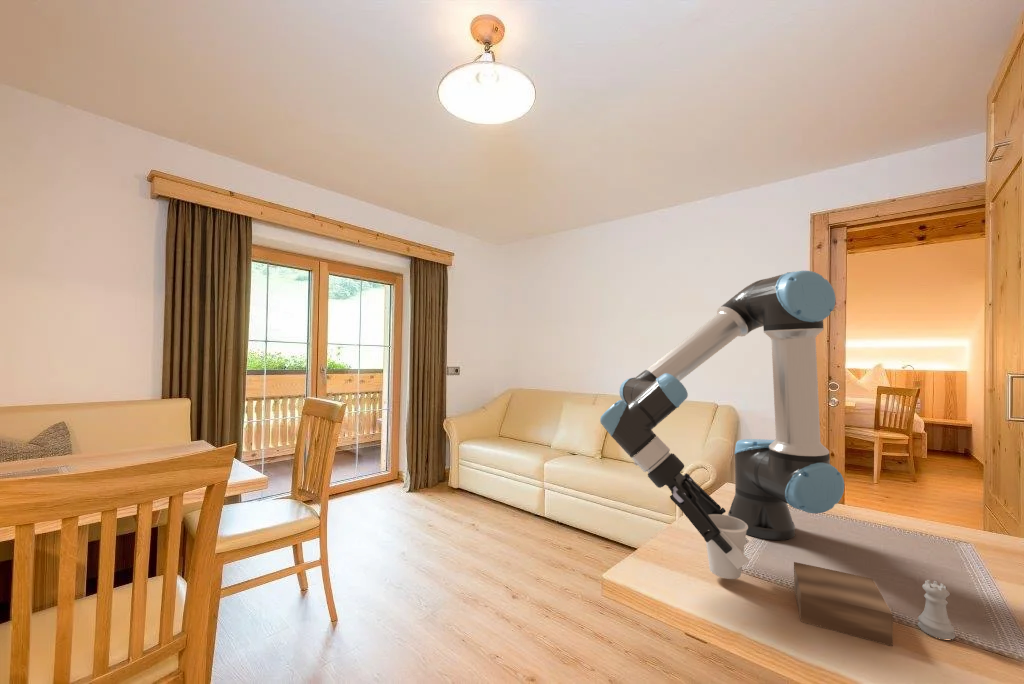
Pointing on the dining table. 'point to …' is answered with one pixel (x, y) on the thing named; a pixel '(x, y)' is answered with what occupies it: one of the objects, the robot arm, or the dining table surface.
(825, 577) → the walnut block
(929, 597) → the rook chess piece
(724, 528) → the dixie cup
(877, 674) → the dining table surface
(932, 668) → the dining table surface
